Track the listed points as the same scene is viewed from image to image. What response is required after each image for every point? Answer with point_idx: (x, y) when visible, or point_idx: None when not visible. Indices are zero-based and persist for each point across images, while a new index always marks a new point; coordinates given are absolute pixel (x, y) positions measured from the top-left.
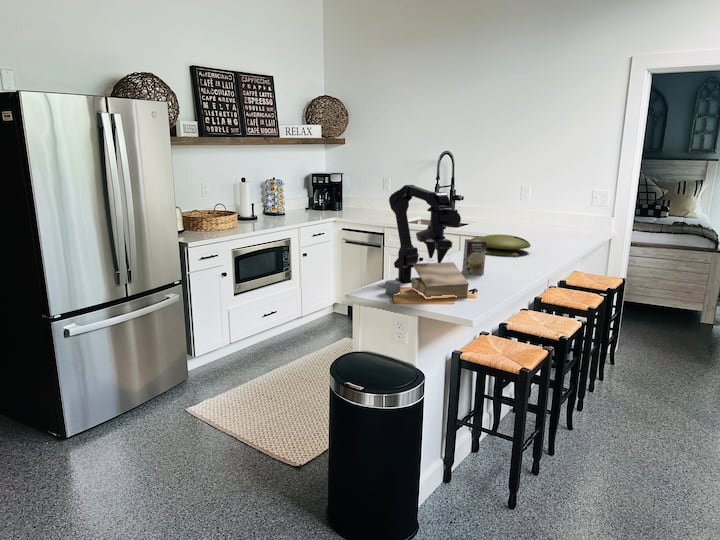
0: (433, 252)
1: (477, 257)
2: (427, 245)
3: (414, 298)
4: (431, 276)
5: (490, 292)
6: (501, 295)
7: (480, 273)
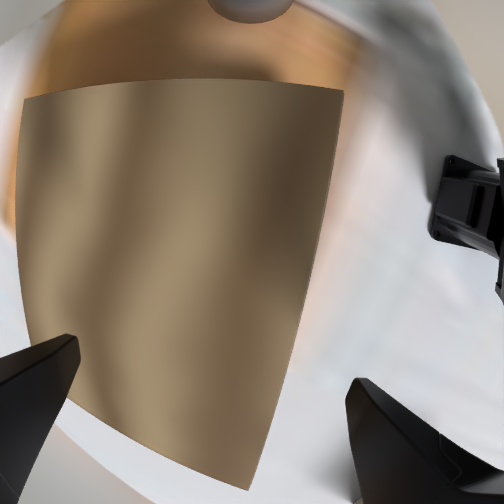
0: (359, 467)
1: None
2: (463, 493)
3: (116, 60)
4: (81, 191)
5: (133, 443)
6: (94, 443)
7: (359, 502)
